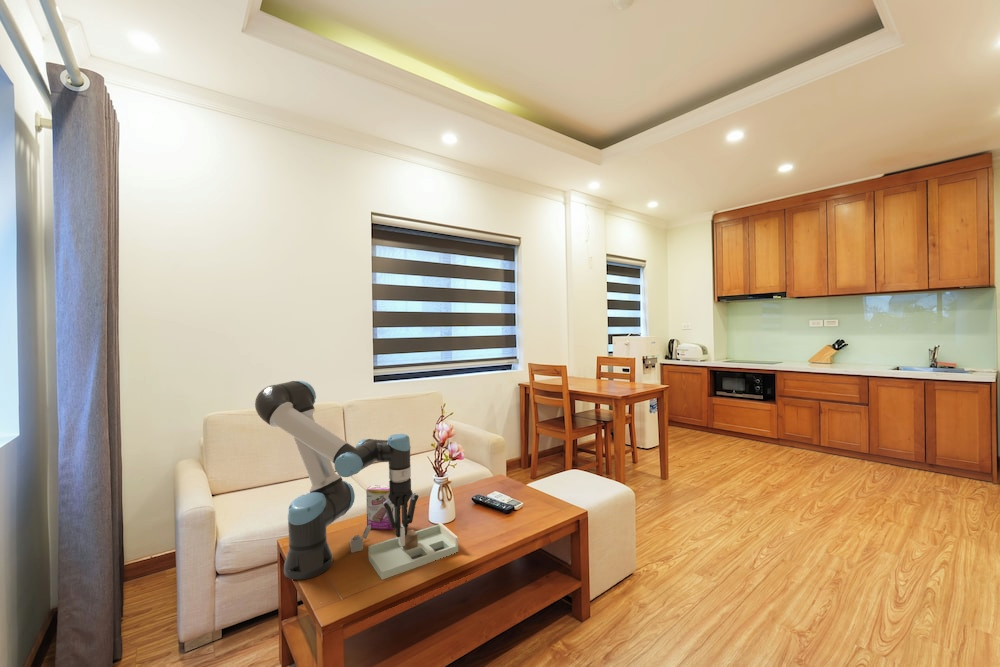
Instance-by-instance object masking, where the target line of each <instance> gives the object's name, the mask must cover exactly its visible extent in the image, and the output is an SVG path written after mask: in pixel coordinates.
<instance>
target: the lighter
mask: <svg viewBox="0 0 1000 667" xmlns="http://www.w3.org/2000/svg"><path fill="white" fill-rule="evenodd" d="M371 530H372V529H371V527H370V526H367V525H366V526H365V529H364V530H363V532H362V536H361V535H360V534H358V535H354V536H352V538H350V539H349V540H350V553H351V554H352V553H356V552H360V551H363V550H364V539H365V540H366V539H367V538H368V536H369V533H370V532H371Z"/></svg>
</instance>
